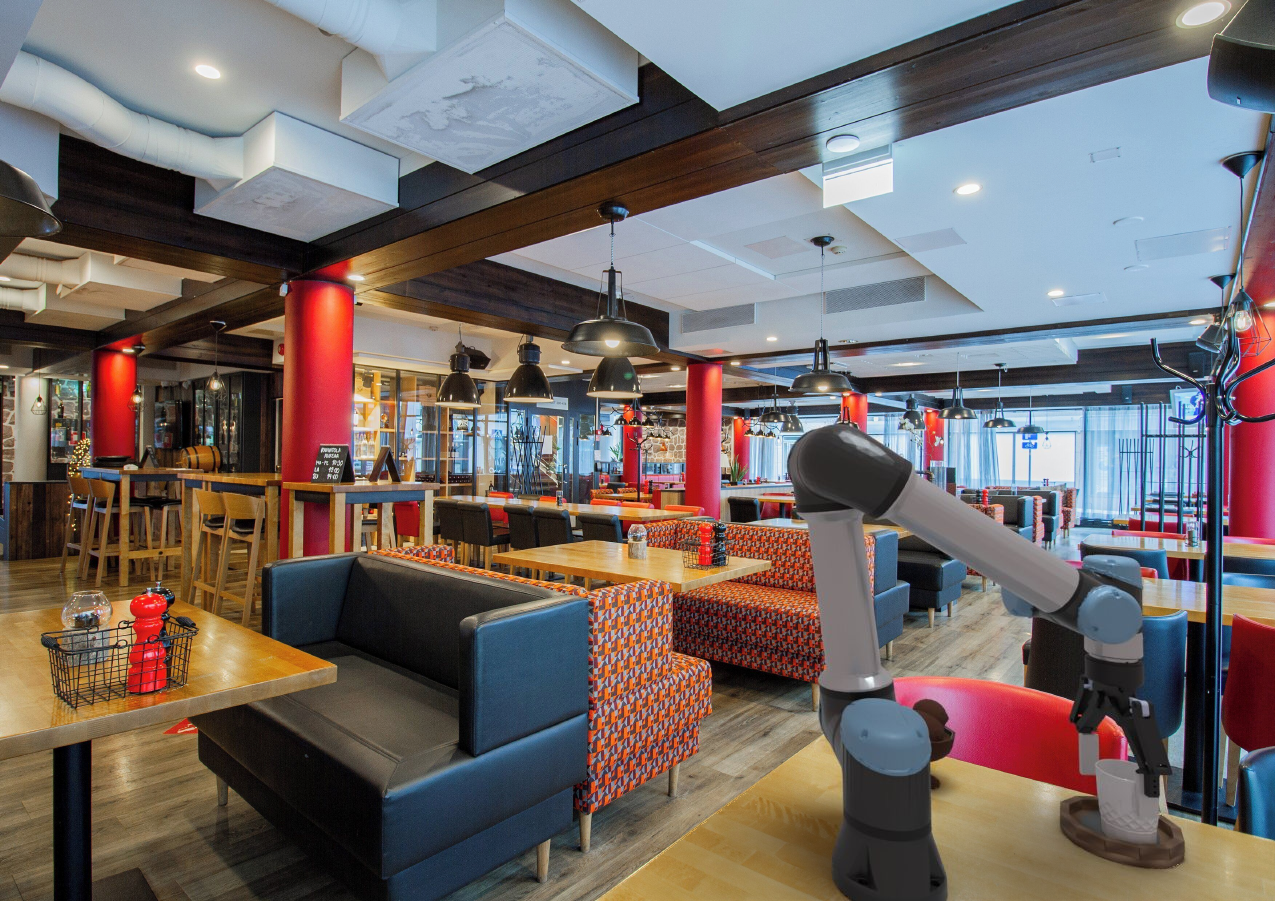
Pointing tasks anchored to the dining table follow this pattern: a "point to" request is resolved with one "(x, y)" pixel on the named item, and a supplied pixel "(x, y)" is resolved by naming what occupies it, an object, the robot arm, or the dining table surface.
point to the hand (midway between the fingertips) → (1116, 794)
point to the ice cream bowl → (936, 731)
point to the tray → (1086, 832)
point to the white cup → (1122, 803)
